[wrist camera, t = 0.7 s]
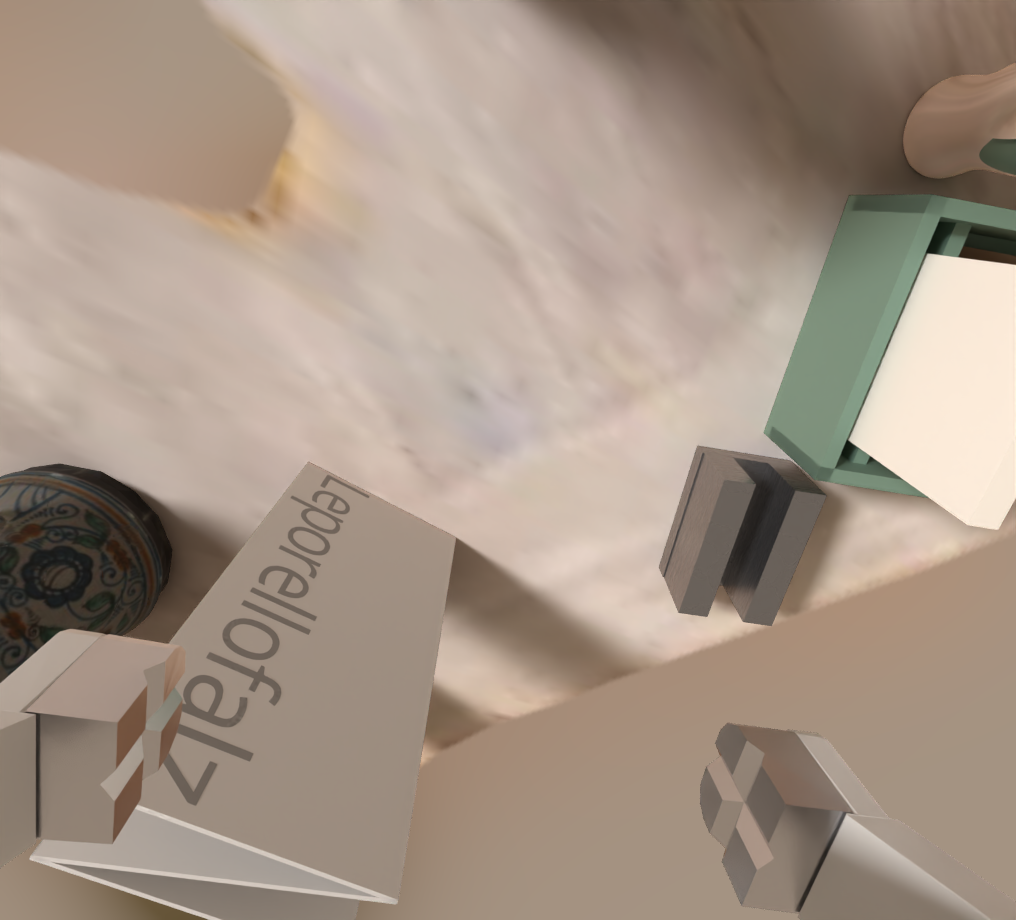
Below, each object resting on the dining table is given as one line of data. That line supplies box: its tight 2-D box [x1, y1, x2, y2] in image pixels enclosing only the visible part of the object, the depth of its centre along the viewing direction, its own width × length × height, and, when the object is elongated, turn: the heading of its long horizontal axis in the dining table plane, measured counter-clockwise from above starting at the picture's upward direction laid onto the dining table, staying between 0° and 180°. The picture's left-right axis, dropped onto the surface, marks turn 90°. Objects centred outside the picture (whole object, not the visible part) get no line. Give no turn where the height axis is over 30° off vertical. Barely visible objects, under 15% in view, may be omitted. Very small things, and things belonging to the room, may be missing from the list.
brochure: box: [30, 462, 456, 920], centre depth 39 cm, size 14×6×30 cm, turn 59°
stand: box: [659, 446, 827, 626], centre depth 49 cm, size 12×8×6 cm, turn 170°
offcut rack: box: [764, 194, 1016, 498], centre depth 42 cm, size 18×14×9 cm
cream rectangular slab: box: [847, 253, 1016, 530], centre depth 36 cm, size 12×2×19 cm, turn 170°
